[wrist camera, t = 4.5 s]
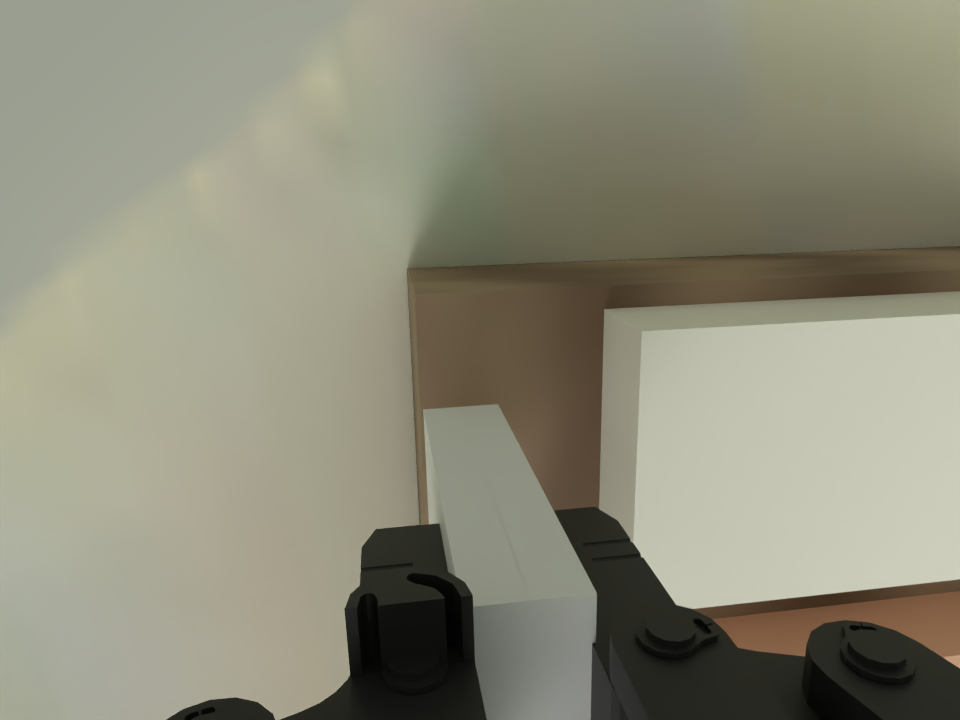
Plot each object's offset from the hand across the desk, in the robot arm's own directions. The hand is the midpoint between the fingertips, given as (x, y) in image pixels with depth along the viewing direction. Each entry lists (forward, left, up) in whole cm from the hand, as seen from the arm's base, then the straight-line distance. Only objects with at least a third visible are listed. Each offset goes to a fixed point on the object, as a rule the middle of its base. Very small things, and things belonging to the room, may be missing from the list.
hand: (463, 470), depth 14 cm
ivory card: (+8, 0, -1) cm, 8 cm away
